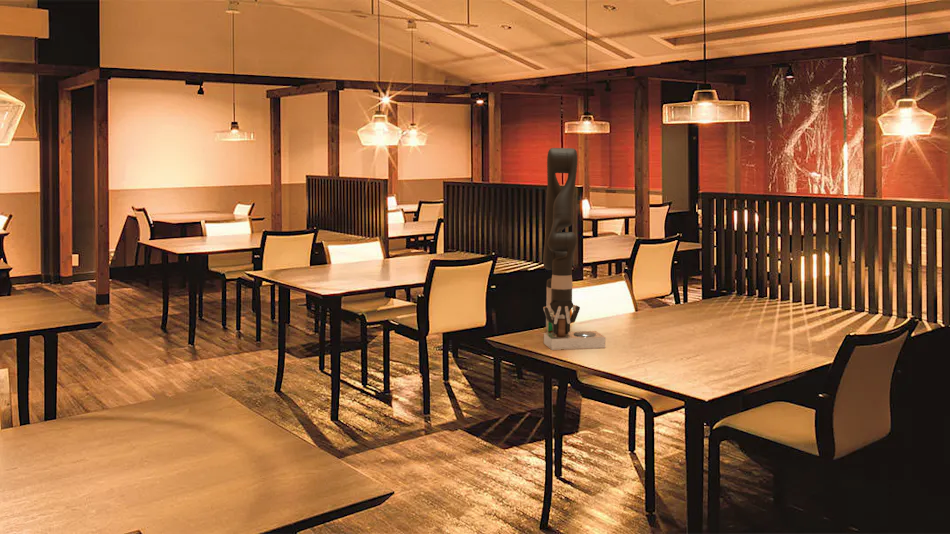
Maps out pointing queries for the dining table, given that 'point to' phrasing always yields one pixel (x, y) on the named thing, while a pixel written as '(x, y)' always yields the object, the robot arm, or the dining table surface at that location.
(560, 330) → the brown wooden peg
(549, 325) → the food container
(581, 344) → the bore block
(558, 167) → the robot arm
